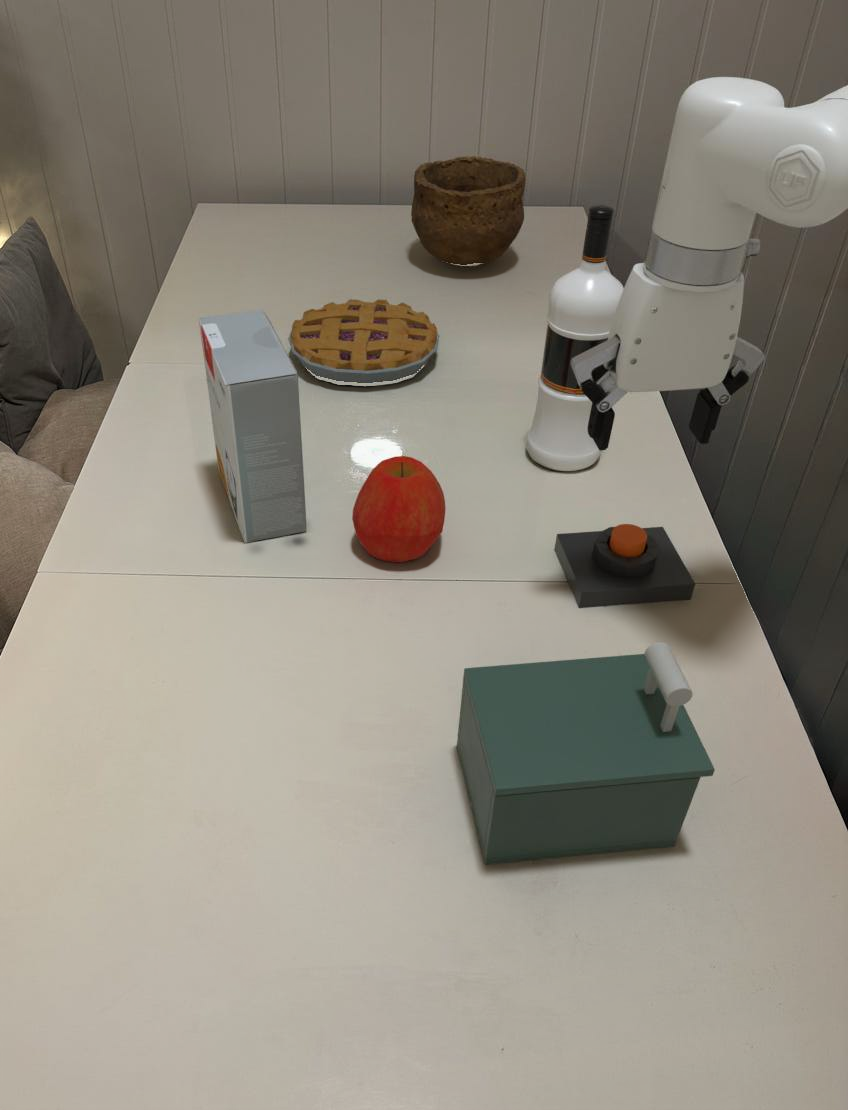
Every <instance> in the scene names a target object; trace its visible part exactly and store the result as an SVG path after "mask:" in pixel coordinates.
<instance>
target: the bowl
mask: <svg viewBox="0 0 848 1110" xmlns="http://www.w3.org/2000/svg"><path fill="white" fill-rule="evenodd" d="M413 176H414V177H413V199H412V203H411V210H410V211H411V215H410V217H411V223H412V226H413V228H414V230H415V233H416V235H417V237H418V239H419V241H420V244H421V246H422V247H423V248H424V250H425V251H426V252H427V253H428V254H429V255H431V256H432V257H434V258H435V259H437V260H439V261H441V262H443V261H444V262H443V263H446V262H448V263H447V264H449V263H453V264H460V265H467V264H473V263H485V264H488V263H490V261H491V262H494V261H495V260H497V259H499V258H500V257H502V256H503V255H504V254H505V253H506V251H507V250H508V249H509V248H510V246H511V245H512V244H513V242H514V241H515V239H516V238H517V236H518V235H519V233H520V230H521V229H522V227H523V224H524V221H525V209H524V203H523V195H524V193H525V188H526V173H525V169H523V168H522V167H521V166H519V165H516V164H514V163H511V162H509V161H499V160H495V159H493V158H487V157H482V156H475V155H472V156H457V157H455V158H452V159H447V160H444V161H443V160H435V161H433V162H431V161H429V162H424V163H422V164H420V165H419V166H418V167H417V168H416V170H415V171H414V175H413ZM487 262H488V263H487Z"/></svg>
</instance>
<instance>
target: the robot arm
mask: <svg viewBox="0 0 848 1110" xmlns="http://www.w3.org/2000/svg"><path fill="white" fill-rule="evenodd" d="M673 121H674V122H673V127H672V131H671V136H670V141H669V145H668V149H667V155H666V159H665V164H664V169H663V173H662V178H661V182H660V188H659V192H658V197H657V200H656V205H655V210H654V215H653V221H652V225H651V226H652V227H651V229H650V232H649V233H650V234H649V238H648V243H647V248H646V253H645V257H644V262H640V263H635V264H634V265H633V267H632V269H631V271H630V273H629V275H628V278H627V280H626V282H625V285H624V286H623V288H624V290H623V292H622V295H621V297H620V300H619V303H618V306H617V309H616V312H615V315H614V319H613V322H612V326H611V329H610V333H609V337H608V340H607V341H605V342H603V343H601V344H599V345H597V346H595V347H593V348H591V349H589V350H587V351H585V352H583V353H581V354H579V355H577V356H575V357H574V358H572V360H571V362H570V363H571V367H572V369H573V372H574V374H575V377H576V379H577V383H578V385H579V386H580V388H581V390H582V391H583V393H584V394H585V395H586V396H587V397H588V398H589V400H590V401H591V402H592V407H591V412H590V417H589V422H588V434H589V436H590V438H593V440H594V442H595V444H596V445H597V447H598V449H599V450H601V451H606V450H607V449H608V448H609V445H610V440H611V435H612V431H613V430H612V429H613V426H614V422H615V416H616V412H615V411H614V408H613V407H614V406H615V405H616V404H617V403H618V402H619V401H620V400H621V399H622V398H623V397H624V396H625V395H626V394H627V393H649V392H668V391H685V390H698V389H699V392H698V393H696V394H697V395H696V398H695V402H694V406H693V409H692V412H691V416H690V419H689V423H688V429H689V430H690V432H691V434H692V435H693V436H694V438H695V439H696V440H697V442H698V443H699V444H701V445H708V443H709V441H710V438H711V435H712V432H713V431H714V430H715V429H716V426H717V423H718V419H719V417H720V413H721V410H722V407H723V406H725V405H727V404H728V403H729V402H730V401H731V399H732V398H731V396H732V395H734V394H735V393H736V392H737V391H739V390H740V389H741V388H743V387H744V386H746V384H747V383H748V382H749V379H750V378H749V377H750V376H752V375H753V374H754V373H755V371H756V370H757V369H758V368H759V367H760V366H761V364H762V363H763V362H764V360H765V359H766V358H765V357H766V356H765V353H764V352H763V351H761V349H760V348H759V347H758V346H756V345H754V344H752V343H750V342H749V341H747V340H745V339H743V338H741V337H740V336H738V335H739V334H738V333H739V330H740V325H741V324H740V323H741V318H742V309H743V302H744V301H743V300H744V290H745V289H744V288H745V276H744V273H743V272H742V270H743V267H744V263H745V260H746V259H748V258H750V257H756V256H758V255H759V253H760V251H761V240H760V238H751V237H750V235H751V232H752V229H753V225H754V223H755V222H754V221H755V218H756V214H758V215H760V216H761V217H763V218H765V219H768V220H770V221H772V222H775V223H777V224H780V225H783V226H786V227H792V228H801V229H804V228H813V227H817V226H821V225H825V224H826V223H828V222H831V221H832V220H833V219H835V218H837V217H839V216H840V215H841V214H843V213H844V212H845V211H846V210H848V84H847V85H845V86H843V87H841V88H839V89H836V90H835V91H832V92H831V93H828V94H826V95H825V96H823V97H822V98H820V99H817V100H816V101H814V102H812V103H807V104H804V105H803V104H802V105H800V106H793V107H785V99H784V97H783V95H782V93H781V92H780V91H779V90H778V89H777V87H774V86H772V85H771V84H769V83H766V82H764V81H760V80H757V79H752V78H747V77H746V78H744V77H738V76H737V77H736V76H714V77H707V78H703V79H701V80H700V79H699V80H697V81H694V82H693V83H692V84H690V85H689V86H688V87H687V88H686V89H685V90H684V92H683V94H682V95H681V97H680V99H679V102H678V105H677V109H676V113H675V117H674V120H673ZM733 355H734V356H735V357H737V358H739V360H738V361H737V362H736V365H733V366H732V367H730V366H731V363H732V359H733ZM602 364H604V366H605V369H608V370H609V371H608V372H607V373H606V374H605V375H604V376H603V377H601V378H600V379H599V380H598V381H597V382H595V381H594V380H593V378H592V375H591V373H592V371H593V369H595V368H596V367H598V366H600V365H602Z"/></svg>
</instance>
